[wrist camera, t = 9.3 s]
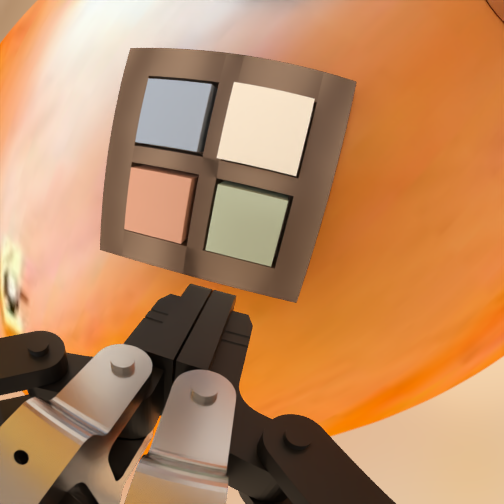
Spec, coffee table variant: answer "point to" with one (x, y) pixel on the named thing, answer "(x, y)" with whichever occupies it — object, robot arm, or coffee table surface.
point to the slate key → (176, 114)
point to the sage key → (246, 222)
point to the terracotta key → (160, 202)
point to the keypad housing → (226, 167)
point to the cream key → (265, 128)
